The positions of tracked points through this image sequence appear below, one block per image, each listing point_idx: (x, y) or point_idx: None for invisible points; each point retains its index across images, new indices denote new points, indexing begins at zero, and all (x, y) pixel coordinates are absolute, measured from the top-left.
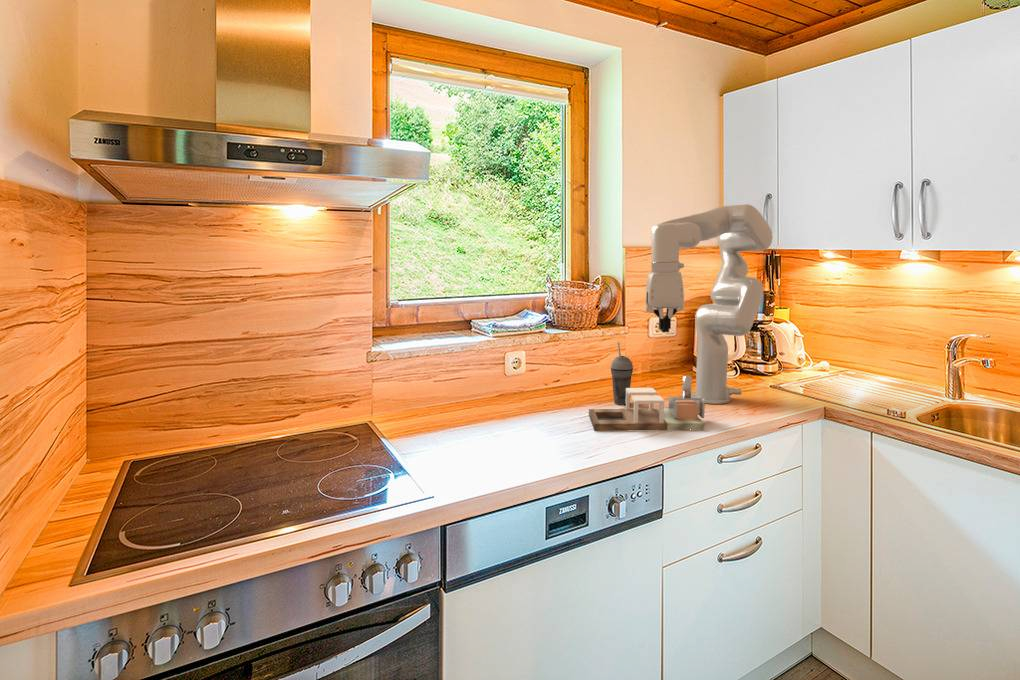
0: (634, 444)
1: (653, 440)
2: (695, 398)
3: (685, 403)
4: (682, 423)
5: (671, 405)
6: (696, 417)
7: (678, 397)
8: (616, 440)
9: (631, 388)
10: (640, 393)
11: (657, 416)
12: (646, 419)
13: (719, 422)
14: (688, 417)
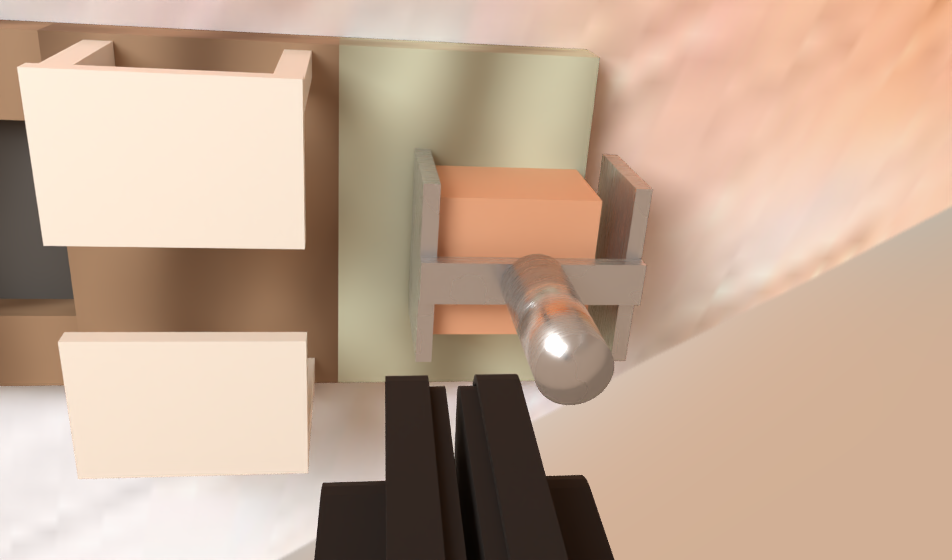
0: (113, 556)
1: (224, 504)
2: (591, 304)
3: None
4: (431, 381)
5: (416, 248)
6: None
7: (471, 283)
8: (15, 509)
9: (77, 92)
10: (155, 244)
11: (308, 242)
12: (217, 306)
13: (707, 219)
14: None
